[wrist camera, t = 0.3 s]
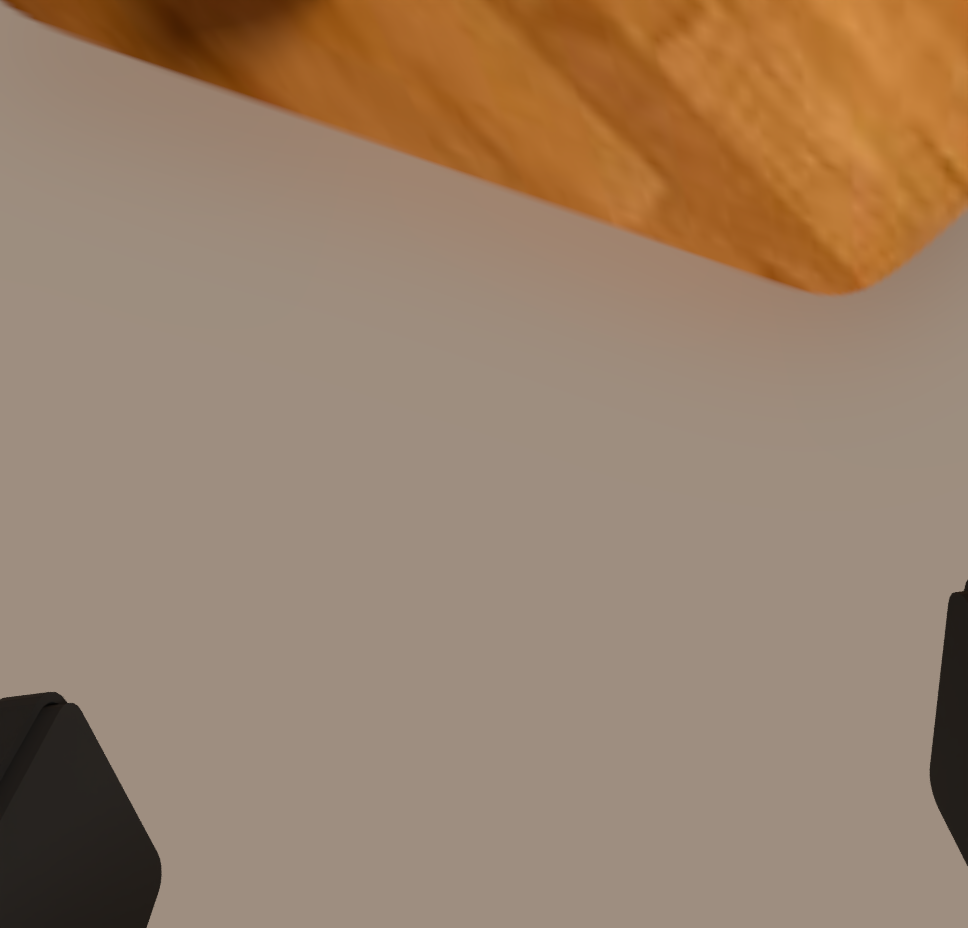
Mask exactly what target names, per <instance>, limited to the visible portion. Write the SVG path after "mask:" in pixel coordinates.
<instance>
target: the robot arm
mask: <svg viewBox="0 0 968 928" xmlns="http://www.w3.org/2000/svg"><path fill="white" fill-rule="evenodd" d="M930 782H931V787H932V792H933V795H934V798H935V801H936V804H937V806H938V808H939V810H940V812H941V814H942V816H943V818H944V820H945V822H946V824H947V826H948V828H949V830H950V832H951V834H952V836H953V838H954V840H955V842H956V844H957V846H958V848H959V850H960V852H961V854H962V856H963V858H964V860H965V861H966V864H967V866H968V580H967V582H966V585H965V589H964V591H962V592H955V593H952V595H951V596H950V599H949V603H948V611H947V620H946V629H945V639H944V646H943V656H942V664H941V673H940V682H939V691H938V701H937V709H936V719H935V727H934V736H933V745H932V754H931V762H930ZM160 883H161V862H160V858H159V856H158V853H157V851H156V849H155V847H154V845H153V844H152V842H151V840H150V838H149V836H148V834H147V832H146V831H145V828H144V827H143V825H142V823H141V821H140V819H139V818H138V816H137V814H136V812H135V810H134V808H133V806H132V804H131V802H130V801H129V799H128V797H127V795H126V793H125V791H124V789H123V787H122V786H121V784H120V782H119V780H118V778H117V776H116V774H115V773H114V771H113V769H112V767H111V765H110V763H109V761H108V760H107V758H106V756H105V754H104V752H103V750H102V748H101V746H100V745H99V743H98V741H97V739H96V737H95V735H94V733H93V732H92V730H91V728H90V726H89V724H88V722H87V720H86V719H85V717H84V715H83V713H82V711H81V710H80V708H79V707H78V706H77V705H75V704H74V703H67V702H66V701H65V699H64V698H63V697H62V696H61V695H59V694H58V693H56V692H46V693H39V694H31V695H22V696H14V697H6V698H2V699H0V928H146V927H147V924H148V922H149V919H150V916H151V913H152V910H153V907H154V904H155V901H156V898H157V895H158V892H159V888H160Z"/></svg>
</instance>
